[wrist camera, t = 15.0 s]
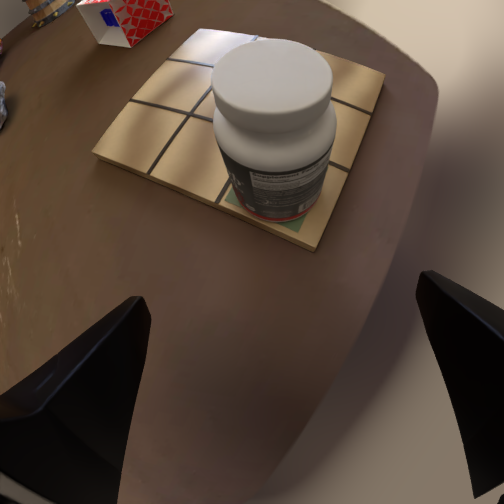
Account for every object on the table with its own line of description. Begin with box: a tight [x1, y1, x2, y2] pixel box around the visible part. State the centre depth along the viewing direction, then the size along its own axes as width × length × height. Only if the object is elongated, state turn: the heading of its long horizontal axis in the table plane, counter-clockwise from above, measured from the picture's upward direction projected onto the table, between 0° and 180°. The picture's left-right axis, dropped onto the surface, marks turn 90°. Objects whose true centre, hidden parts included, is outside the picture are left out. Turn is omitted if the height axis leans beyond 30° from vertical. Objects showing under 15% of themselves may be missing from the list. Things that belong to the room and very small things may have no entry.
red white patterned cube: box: [76, 0, 174, 48], centre depth 25 cm, size 8×8×8 cm
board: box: [92, 29, 386, 252], centre depth 22 cm, size 20×18×1 cm
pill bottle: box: [211, 39, 337, 222], centre depth 14 cm, size 6×6×10 cm
